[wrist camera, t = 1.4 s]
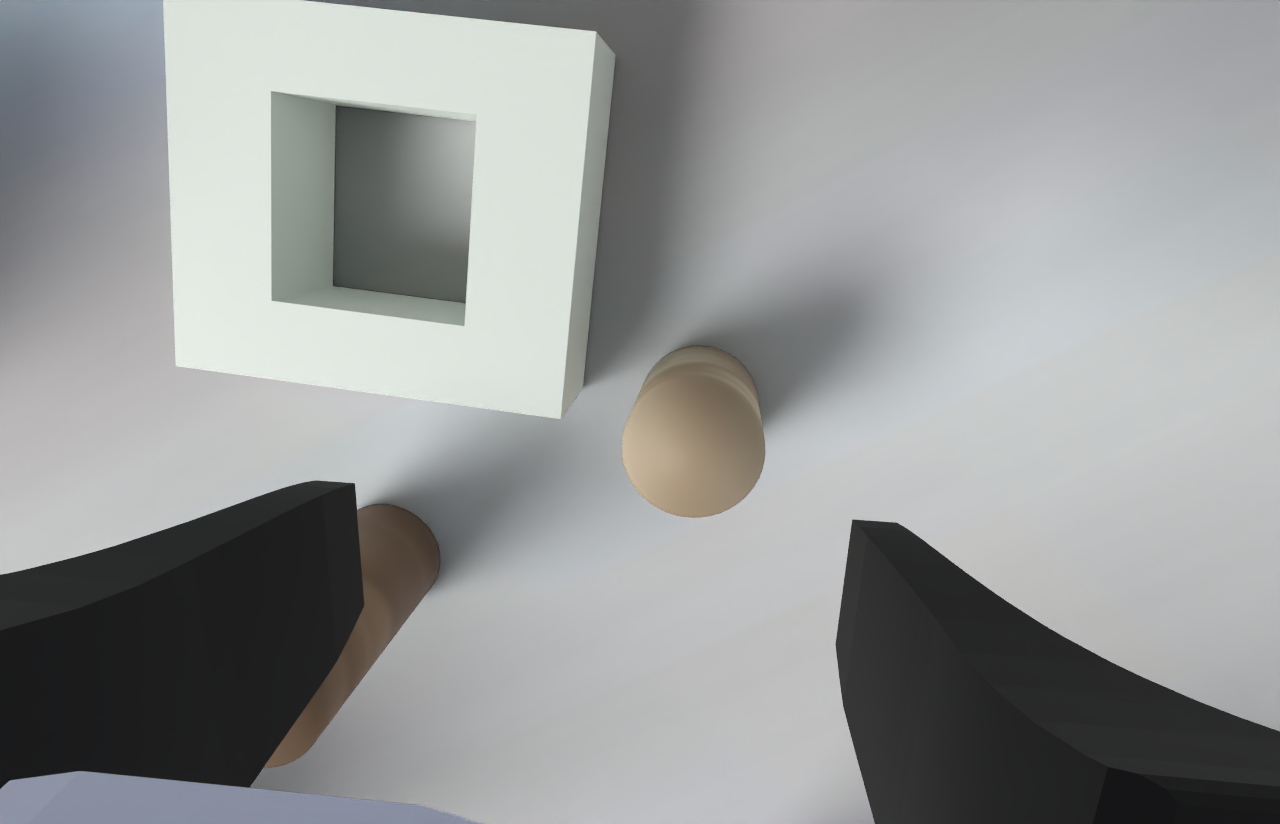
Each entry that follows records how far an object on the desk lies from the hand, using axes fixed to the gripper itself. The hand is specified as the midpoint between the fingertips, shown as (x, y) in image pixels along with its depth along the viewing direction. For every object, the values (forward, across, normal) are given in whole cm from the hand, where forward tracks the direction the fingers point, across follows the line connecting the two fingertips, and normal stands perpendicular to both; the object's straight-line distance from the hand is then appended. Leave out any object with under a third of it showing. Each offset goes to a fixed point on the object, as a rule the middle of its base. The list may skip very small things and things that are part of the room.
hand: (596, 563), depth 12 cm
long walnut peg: (+10, +7, +6) cm, 13 cm away
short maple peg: (+10, -1, +1) cm, 10 cm away
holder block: (+10, +6, -4) cm, 12 cm away
